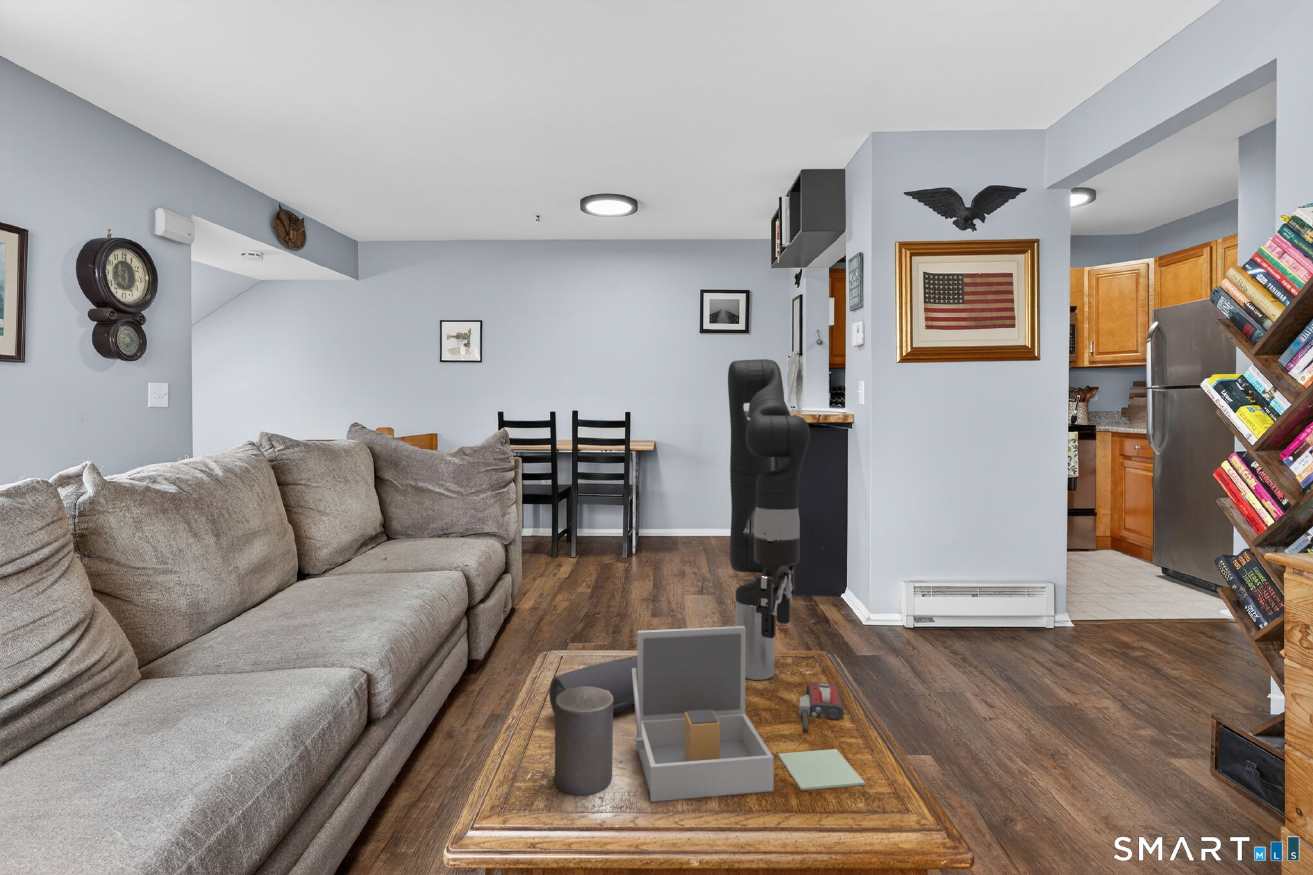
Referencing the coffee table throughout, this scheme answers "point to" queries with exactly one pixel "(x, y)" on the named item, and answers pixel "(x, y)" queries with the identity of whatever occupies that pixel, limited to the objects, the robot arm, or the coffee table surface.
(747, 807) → the coffee table surface
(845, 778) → the pad
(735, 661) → the equipment case
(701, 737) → the block
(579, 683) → the bluetooth speaker
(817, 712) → the walkie-talkie
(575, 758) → the pillar candle
